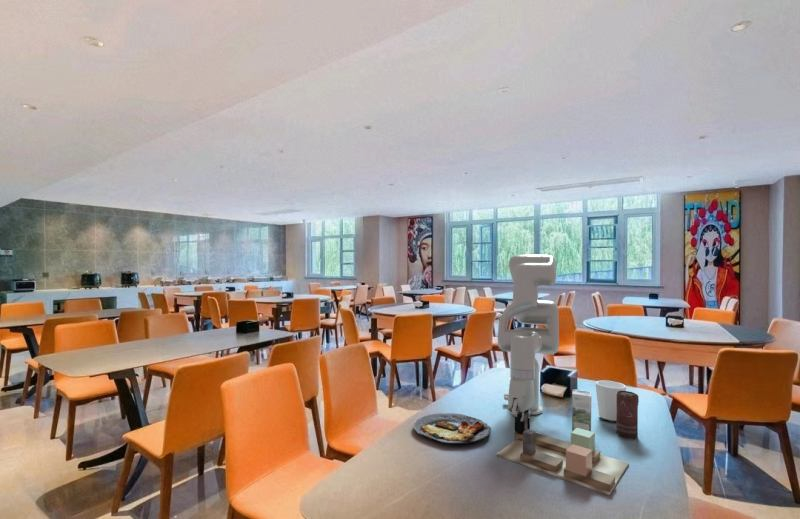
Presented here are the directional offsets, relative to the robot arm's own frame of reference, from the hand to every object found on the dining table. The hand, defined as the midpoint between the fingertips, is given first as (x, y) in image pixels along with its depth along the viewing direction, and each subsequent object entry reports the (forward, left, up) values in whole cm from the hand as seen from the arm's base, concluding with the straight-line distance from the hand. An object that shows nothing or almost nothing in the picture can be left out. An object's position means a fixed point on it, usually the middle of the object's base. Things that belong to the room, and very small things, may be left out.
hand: (522, 430), depth 128 cm
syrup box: (+13, +16, -3) cm, 21 cm away
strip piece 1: (+11, -12, -2) cm, 17 cm away
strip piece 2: (+24, -12, -3) cm, 27 cm away
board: (+14, -5, -3) cm, 16 cm away
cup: (+16, +39, -3) cm, 42 cm away
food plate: (-20, -10, -3) cm, 23 cm away
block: (+21, -12, 0) cm, 25 cm away
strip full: (+10, 0, -2) cm, 11 cm away
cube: (+18, 0, 0) cm, 19 cm away
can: (+24, +27, -3) cm, 36 cm away
